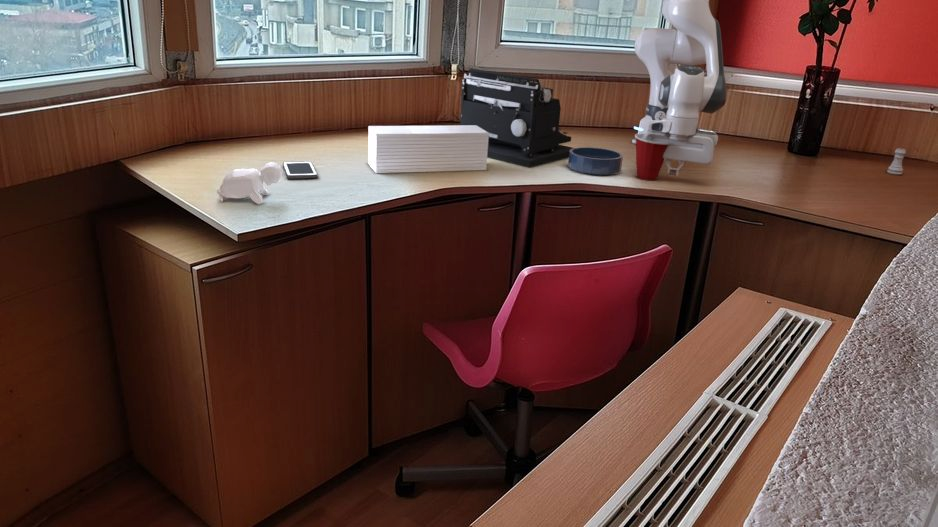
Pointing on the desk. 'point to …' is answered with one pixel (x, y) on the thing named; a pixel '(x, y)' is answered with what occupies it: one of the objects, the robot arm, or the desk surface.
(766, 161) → the desk surface
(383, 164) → the stack of papers
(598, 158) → the bowl
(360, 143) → the desk surface
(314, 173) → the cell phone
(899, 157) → the rook chess piece
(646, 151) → the plastic cup
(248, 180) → the white animal figurine
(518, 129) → the typewriter
